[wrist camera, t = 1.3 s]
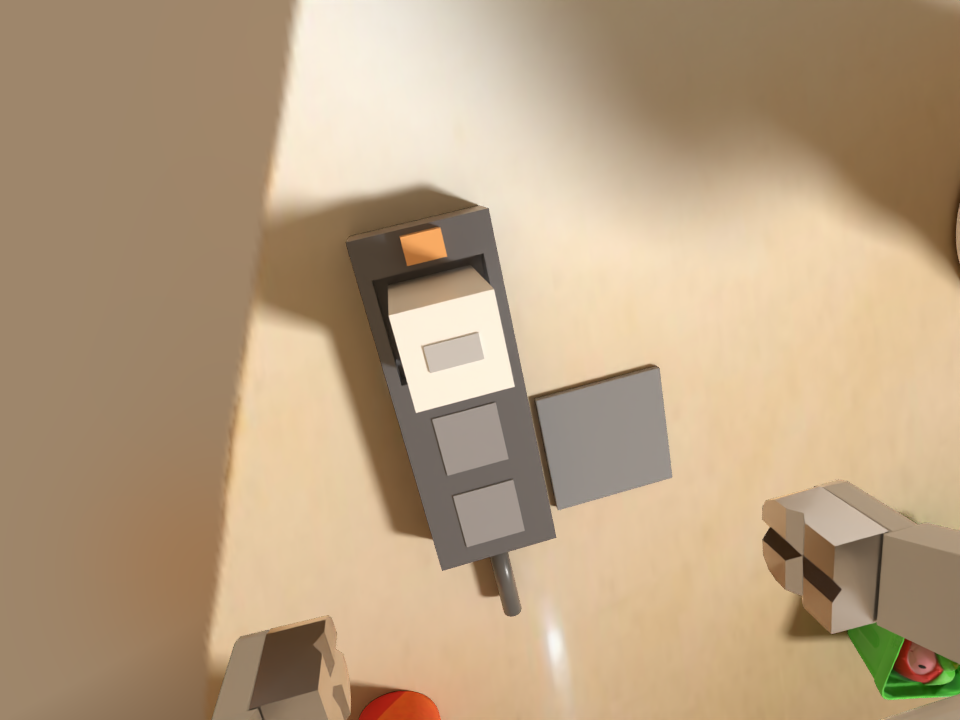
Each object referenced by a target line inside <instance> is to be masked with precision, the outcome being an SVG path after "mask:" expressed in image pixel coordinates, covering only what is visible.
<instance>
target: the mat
mask: <svg viewBox="0 0 960 720" xmlns="http://www.w3.org/2000/svg"><path fill="white" fill-rule="evenodd" d="M535 403H536V408H537V413H538V418H539V423H540V428H541V433H542V438H543V443H544V448H545V453H546V458H547V463H548V468H549V473H550V478H551V483H552V488H553V492H554V497H555V502H556V507H557V509H558V510H561V509H564V508H568V507H571V506H575V505H578V504H582V503H585V502H589V501H592V500H596V499H599V498H603V497H606V496H610V495H613V494H617V493H620V492H624V491H627V490H631V489H634V488H638V487H641V486H644V485H648V484H651V483H655V482H658V481H662V480H665V479H669V478H672V470H671V461H670V453H669V445H668V436H667V428H666V419H665V411H664V402H663V394H662V385H661V377H660V368H659V367H657V366H654V367H650V368H647V369H643V370H639V371H636V372H632V373H628V374H624V375H621V376H617V377H613V378H610V379H606V380H602V381H598V382H595V383H591V384H587V385H584V386H580V387H576V388H572V389H569V390H565V391H561V392H558V393H554V394H550V395H546V396H543V397H539V398H535Z"/></svg>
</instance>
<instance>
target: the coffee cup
mask: <svg viewBox="0 0 960 720" xmlns="http://www.w3.org/2000/svg"><path fill="white" fill-rule="evenodd" d="M359 720H441V719H440V715H439V712H438V709H437V707H436V705H435V704H434V702H433V701H432V700H431V699H429V698H428V697H427V696H425V695H423V694H420V693H417V692H413V691H396V692H391V693H387V694H384V695H382V696H380V697H378V698H376V699H375V700H373V701H372V702H370V703H369V704H368V705H367V706H366V707H365V708H364V710H363V711H362V713H361V715H360V717H359Z"/></svg>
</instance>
